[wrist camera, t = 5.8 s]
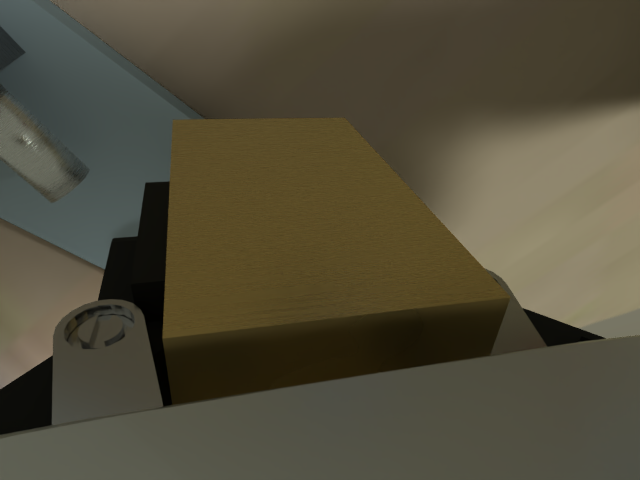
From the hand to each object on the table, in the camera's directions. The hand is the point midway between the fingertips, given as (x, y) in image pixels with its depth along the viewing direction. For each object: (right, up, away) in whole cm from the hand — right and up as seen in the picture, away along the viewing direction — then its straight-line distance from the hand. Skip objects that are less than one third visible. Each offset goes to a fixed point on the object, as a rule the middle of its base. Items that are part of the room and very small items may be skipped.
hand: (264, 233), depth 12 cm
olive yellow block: (0, +1, 0) cm, 1 cm away
